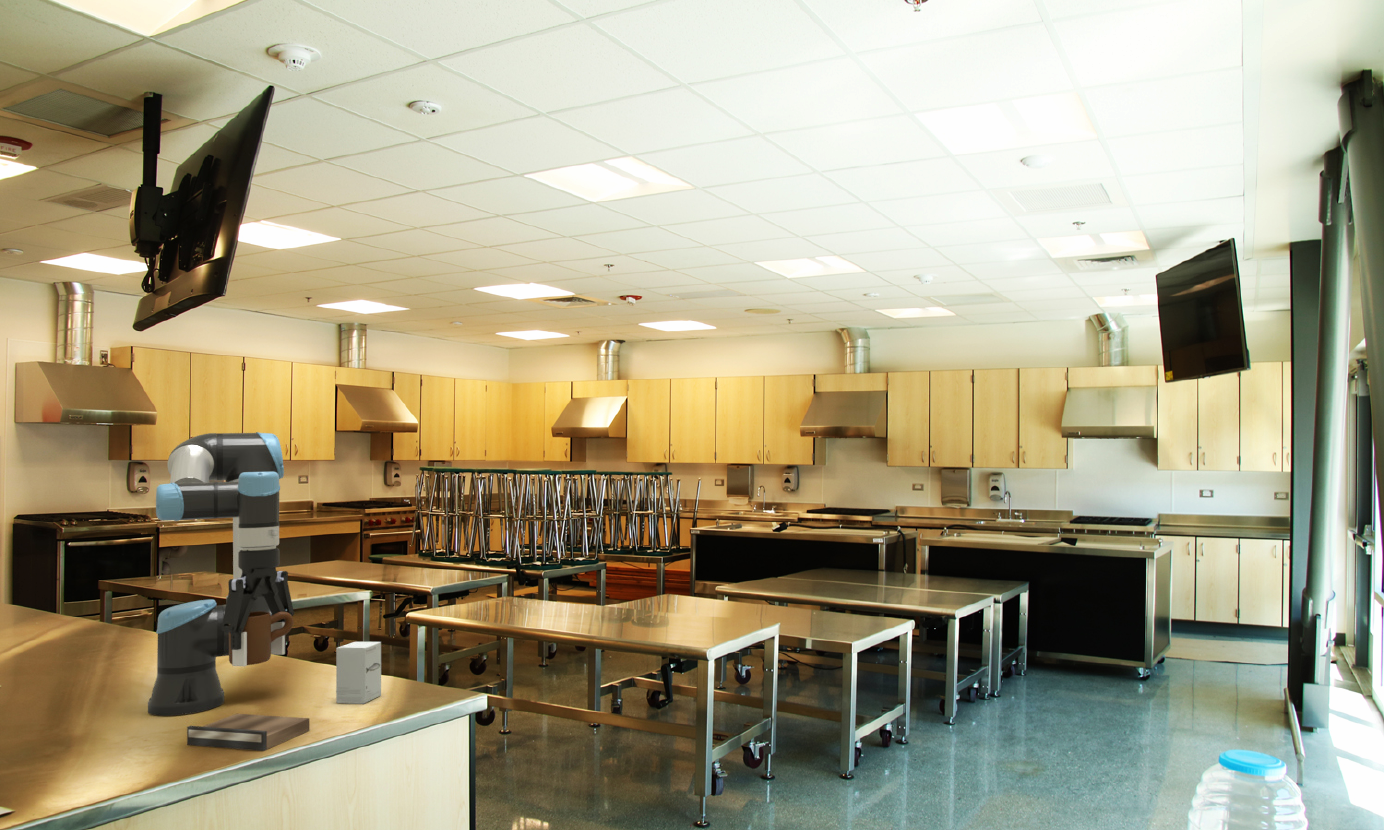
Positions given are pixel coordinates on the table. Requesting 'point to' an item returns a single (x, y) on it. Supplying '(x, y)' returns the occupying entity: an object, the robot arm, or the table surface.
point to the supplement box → (358, 672)
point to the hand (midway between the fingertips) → (259, 659)
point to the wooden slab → (247, 732)
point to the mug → (262, 635)
